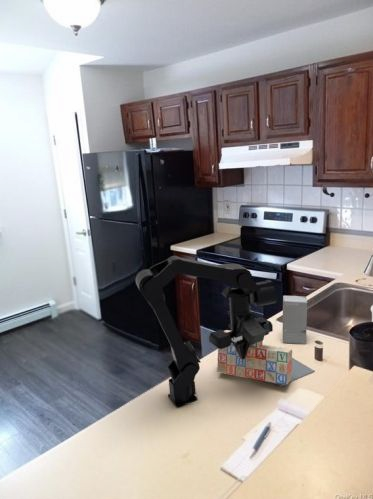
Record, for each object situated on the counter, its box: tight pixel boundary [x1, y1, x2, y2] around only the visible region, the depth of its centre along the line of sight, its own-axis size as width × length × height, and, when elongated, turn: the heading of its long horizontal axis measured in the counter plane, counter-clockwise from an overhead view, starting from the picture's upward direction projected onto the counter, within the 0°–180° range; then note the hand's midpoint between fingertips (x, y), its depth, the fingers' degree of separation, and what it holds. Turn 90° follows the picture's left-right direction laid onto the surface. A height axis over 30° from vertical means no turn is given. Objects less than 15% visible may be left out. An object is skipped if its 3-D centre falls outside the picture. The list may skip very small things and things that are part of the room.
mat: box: [274, 357, 315, 388], centre depth 118 cm, size 14×16×1 cm
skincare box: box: [282, 295, 308, 345], centre depth 133 cm, size 8×7×16 cm
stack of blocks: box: [216, 329, 293, 386], centre depth 113 cm, size 21×6×12 cm, turn 62°
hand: (242, 358), depth 109 cm, fingers closed
